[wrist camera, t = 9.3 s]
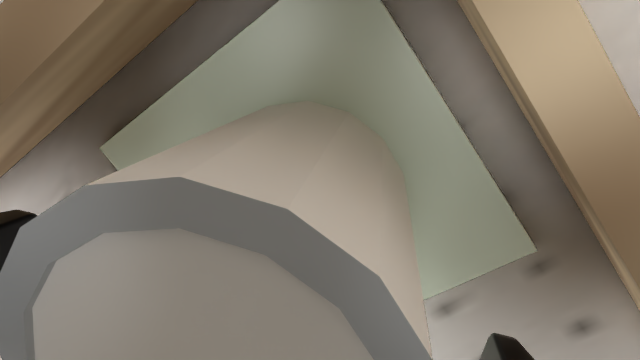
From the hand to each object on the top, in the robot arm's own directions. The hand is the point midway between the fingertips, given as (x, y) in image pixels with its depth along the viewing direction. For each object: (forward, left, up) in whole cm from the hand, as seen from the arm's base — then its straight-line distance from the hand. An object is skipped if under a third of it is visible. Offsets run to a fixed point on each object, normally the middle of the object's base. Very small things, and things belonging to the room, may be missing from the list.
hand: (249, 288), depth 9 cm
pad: (0, 0, -5) cm, 5 cm away
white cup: (0, 0, -5) cm, 5 cm away
